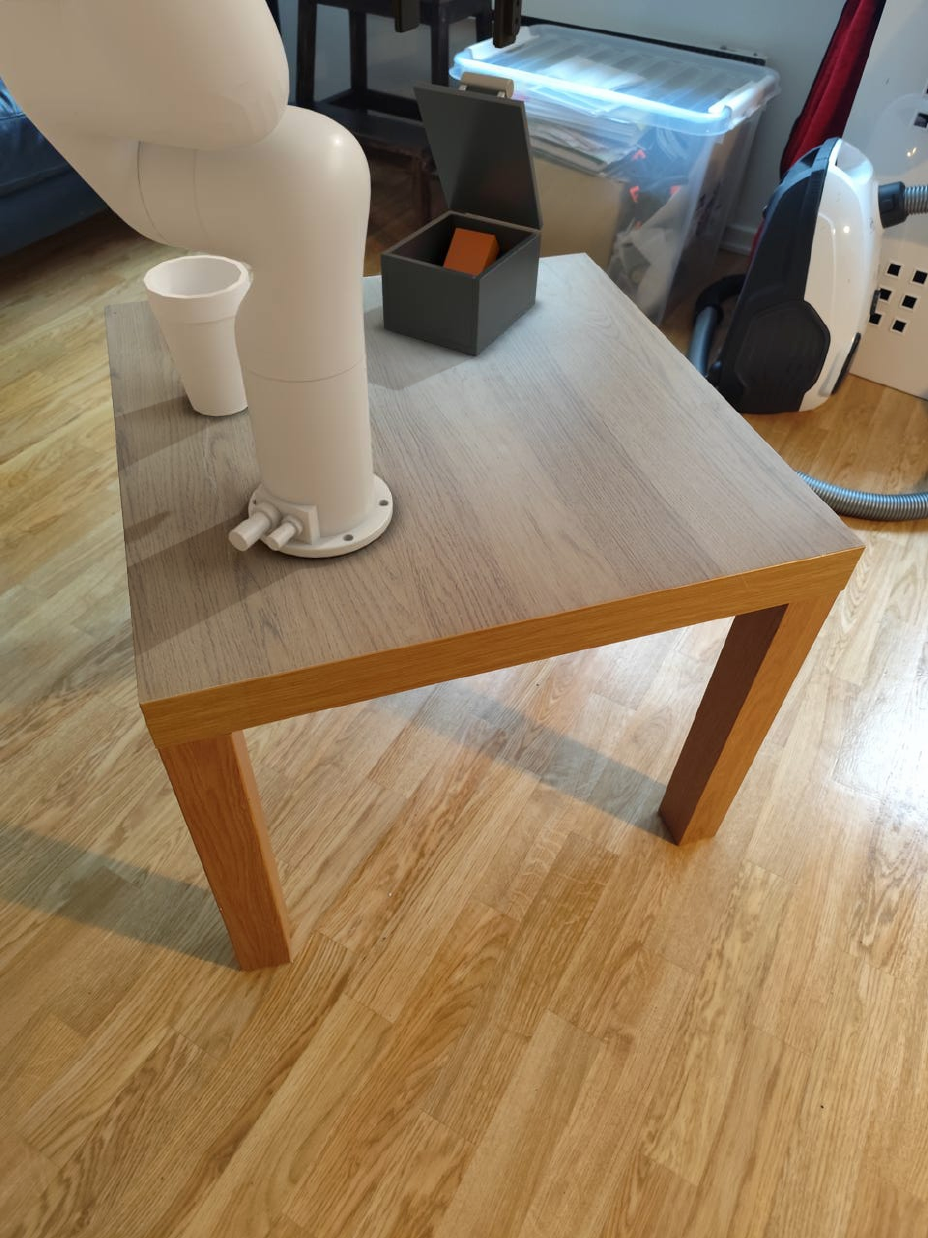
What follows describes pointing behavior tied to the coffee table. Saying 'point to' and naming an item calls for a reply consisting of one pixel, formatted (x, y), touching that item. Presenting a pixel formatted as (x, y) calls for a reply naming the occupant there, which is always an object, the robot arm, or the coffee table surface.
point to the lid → (482, 148)
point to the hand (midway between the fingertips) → (454, 37)
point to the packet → (471, 252)
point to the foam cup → (202, 326)
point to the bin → (458, 284)
